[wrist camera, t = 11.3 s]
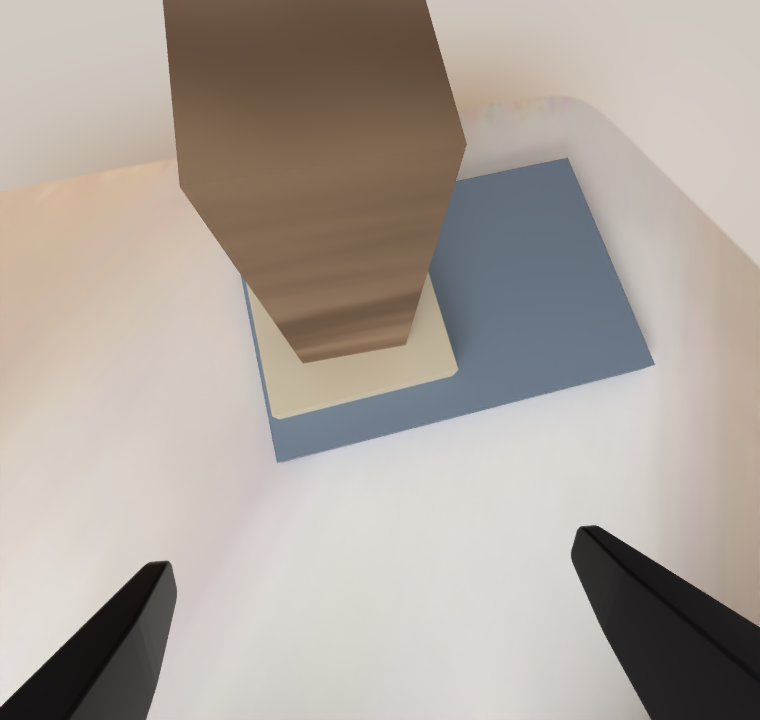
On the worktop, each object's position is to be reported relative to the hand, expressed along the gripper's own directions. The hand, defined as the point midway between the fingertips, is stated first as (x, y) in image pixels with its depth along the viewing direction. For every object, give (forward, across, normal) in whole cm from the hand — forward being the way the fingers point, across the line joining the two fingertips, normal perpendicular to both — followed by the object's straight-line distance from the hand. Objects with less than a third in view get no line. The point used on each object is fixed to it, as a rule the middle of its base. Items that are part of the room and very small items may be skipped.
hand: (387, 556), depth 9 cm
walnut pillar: (+13, 0, -2) cm, 13 cm away
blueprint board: (+15, -5, -2) cm, 16 cm away
